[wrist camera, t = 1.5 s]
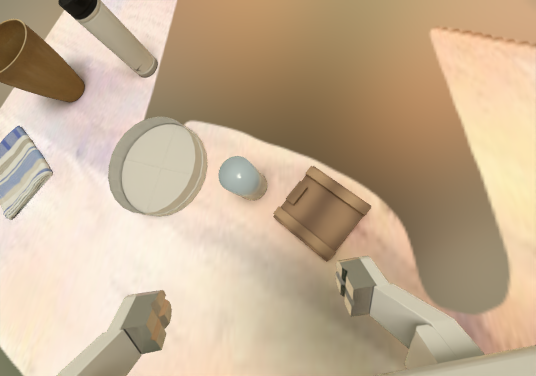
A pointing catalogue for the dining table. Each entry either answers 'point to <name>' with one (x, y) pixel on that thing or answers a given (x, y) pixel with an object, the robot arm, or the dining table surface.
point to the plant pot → (35, 64)
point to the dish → (157, 167)
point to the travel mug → (111, 34)
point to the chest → (321, 212)
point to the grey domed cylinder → (242, 178)
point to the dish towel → (20, 171)
